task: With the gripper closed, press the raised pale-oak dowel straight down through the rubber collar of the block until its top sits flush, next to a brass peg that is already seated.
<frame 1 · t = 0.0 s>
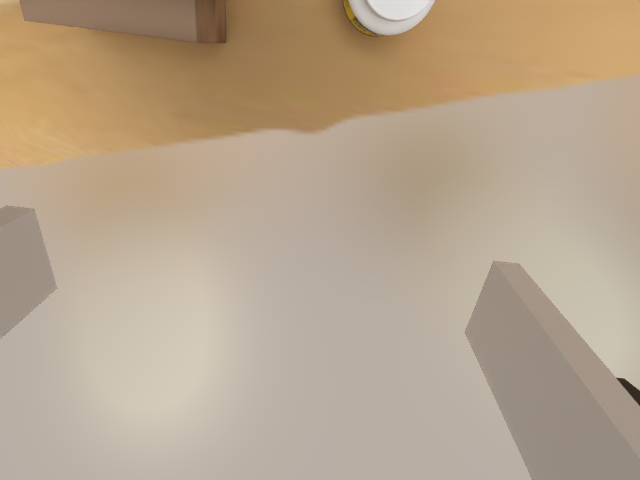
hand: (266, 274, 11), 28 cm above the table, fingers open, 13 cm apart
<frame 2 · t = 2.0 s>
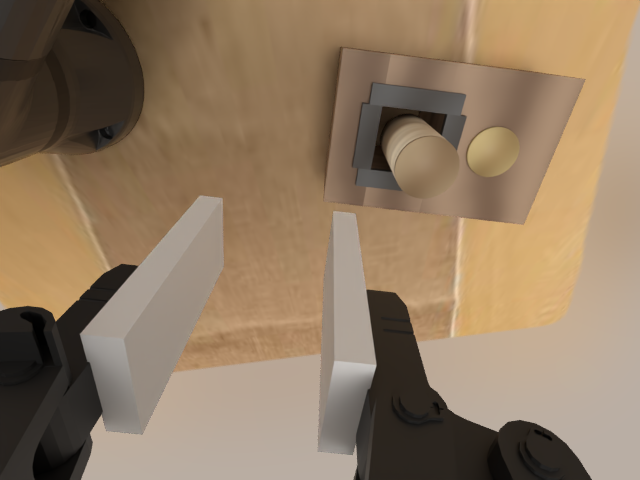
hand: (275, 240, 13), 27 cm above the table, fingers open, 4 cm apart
socket block: (421, 125, 36), on the table
oak peg: (414, 152, 26), point 11 cm above the table, slide at 7.0 cm
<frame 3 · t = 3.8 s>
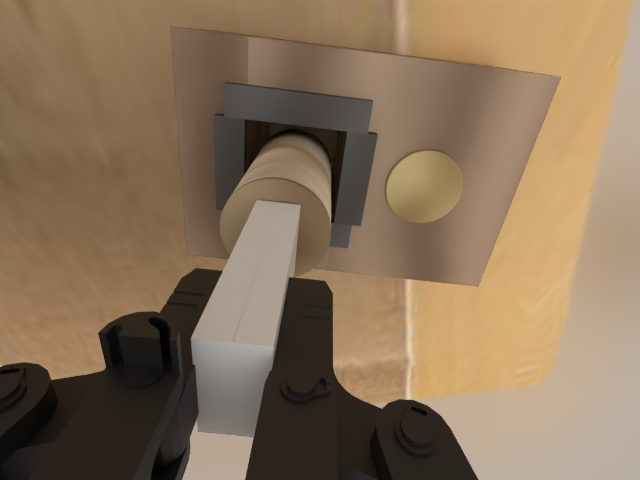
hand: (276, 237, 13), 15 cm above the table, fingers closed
socket block: (344, 141, 26), on the table
oak peg: (287, 192, 17), point 11 cm above the table, slide at 6.8 cm, touching gripper
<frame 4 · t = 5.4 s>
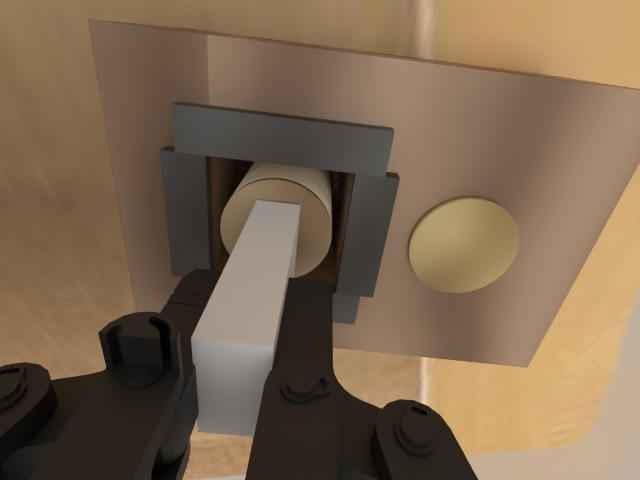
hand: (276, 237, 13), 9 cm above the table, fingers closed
socket block: (348, 168, 21), on the table
oak peg: (287, 193, 17), point 5 cm above the table, slide at 0.5 cm, touching gripper
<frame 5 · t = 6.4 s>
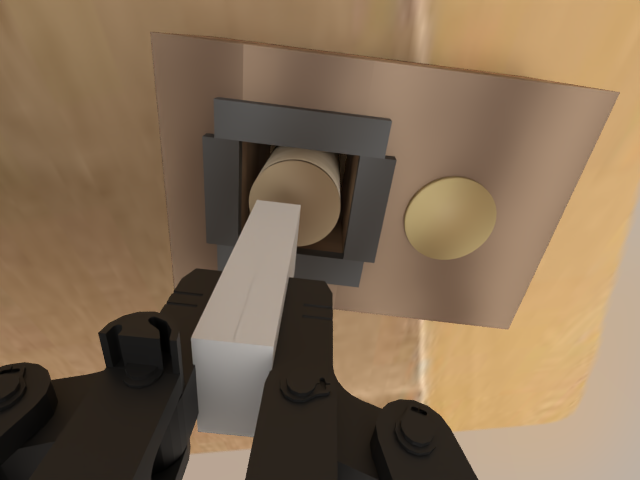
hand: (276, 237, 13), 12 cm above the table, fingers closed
socket block: (354, 159, 24), on the table
oak peg: (302, 177, 19), point 5 cm above the table, slide at 0.5 cm
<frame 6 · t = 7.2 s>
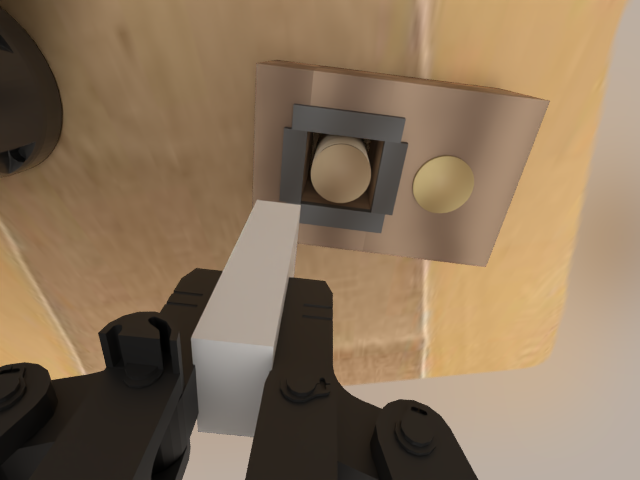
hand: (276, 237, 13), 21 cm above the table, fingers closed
socket block: (374, 148, 32), on the table
oak peg: (340, 158, 28), point 5 cm above the table, slide at 0.5 cm
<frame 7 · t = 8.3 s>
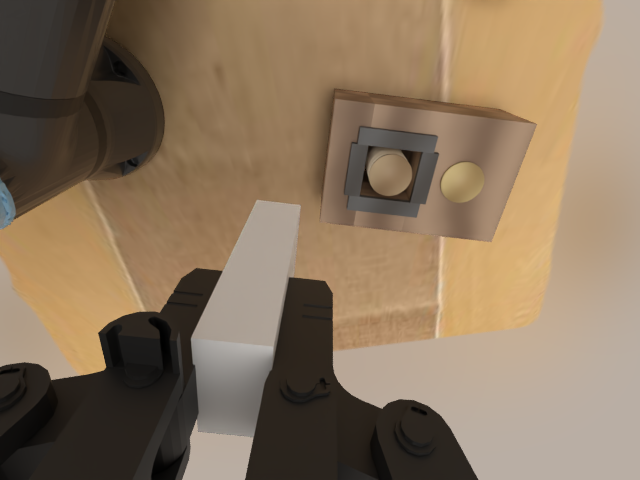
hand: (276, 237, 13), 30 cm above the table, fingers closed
socket block: (405, 154, 42), on the table
oak peg: (385, 163, 37), point 5 cm above the table, slide at 0.5 cm
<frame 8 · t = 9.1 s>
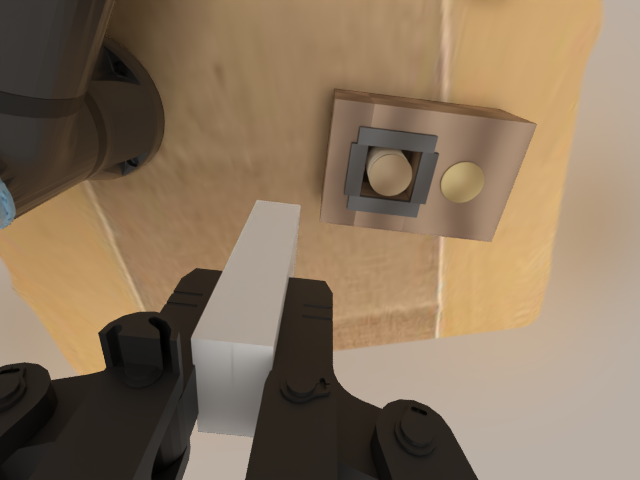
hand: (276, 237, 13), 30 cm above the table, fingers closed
socket block: (405, 154, 42), on the table
oak peg: (385, 163, 37), point 5 cm above the table, slide at 0.5 cm
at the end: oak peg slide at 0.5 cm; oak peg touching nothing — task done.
